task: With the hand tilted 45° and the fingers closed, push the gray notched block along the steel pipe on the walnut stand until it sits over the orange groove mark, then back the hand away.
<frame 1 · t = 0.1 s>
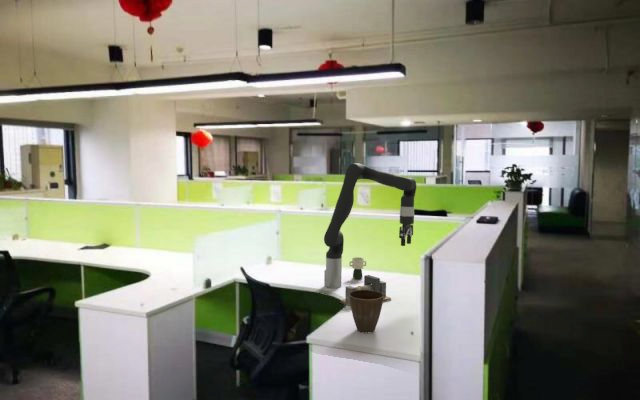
hand: (405, 244, 257), 29 cm above the table, tool pointing down, fingers open, 8 cm apart
trophy cup: (357, 278, 303), on the table
plant pot: (365, 330, 209), on the table
pipe stand: (365, 301, 253), on the table
gray notched block: (371, 285, 255), point 8 cm above the table, slide at -4.0 cm
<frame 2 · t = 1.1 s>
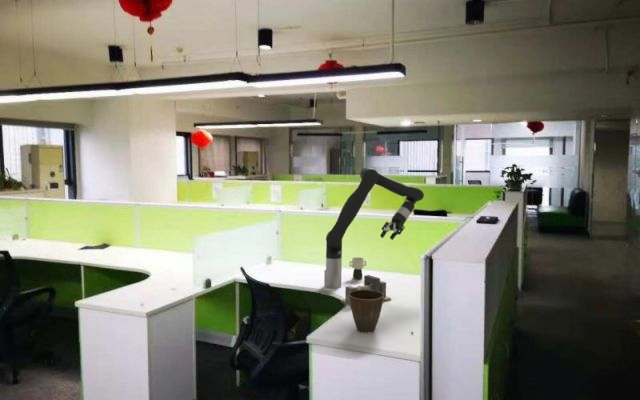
hand: (386, 237, 272), 31 cm above the table, tool tilted 45°, fingers open, 7 cm apart
nothing on the table moved.
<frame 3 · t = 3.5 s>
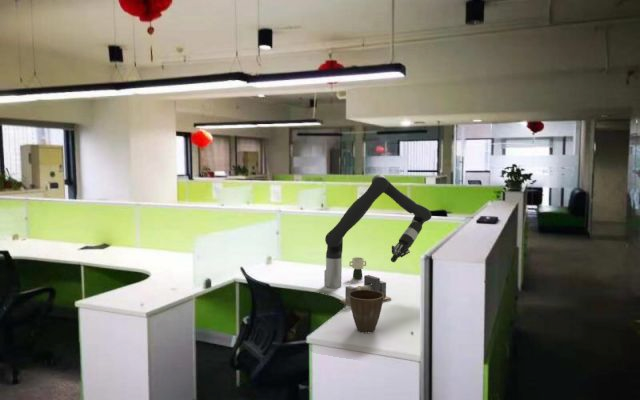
hand: (392, 261, 263), 19 cm above the table, tool tilted 45°, fingers closed
nothing on the table moved.
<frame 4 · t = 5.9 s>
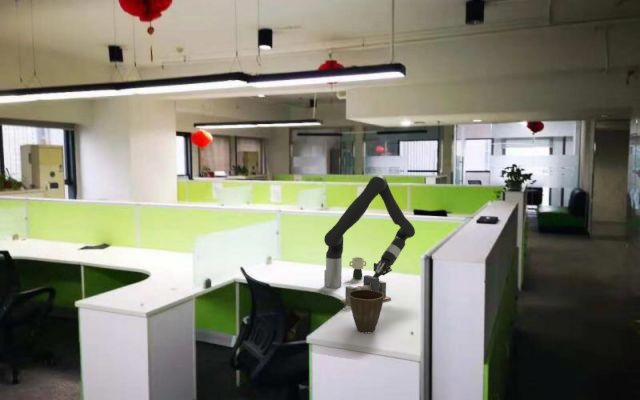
hand: (374, 279, 255), 11 cm above the table, tool tilted 45°, fingers closed
gray notched block: (371, 285, 254), point 8 cm above the table, slide at -3.5 cm, touching gripper
everything else where it was.
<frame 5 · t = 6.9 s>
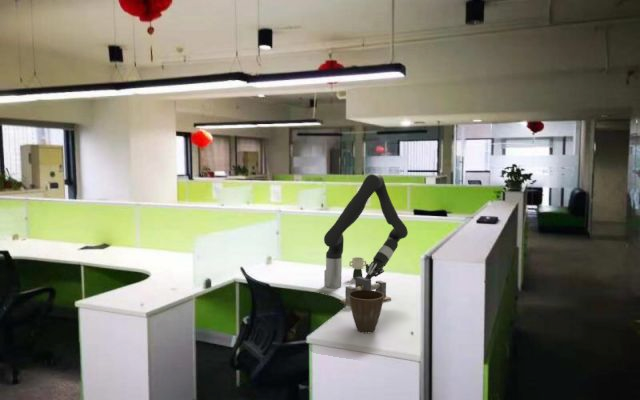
hand: (366, 281, 252), 11 cm above the table, tool tilted 45°, fingers closed
gray notched block: (363, 286, 251), point 8 cm above the table, slide at 2.2 cm, touching gripper
everything else where it was.
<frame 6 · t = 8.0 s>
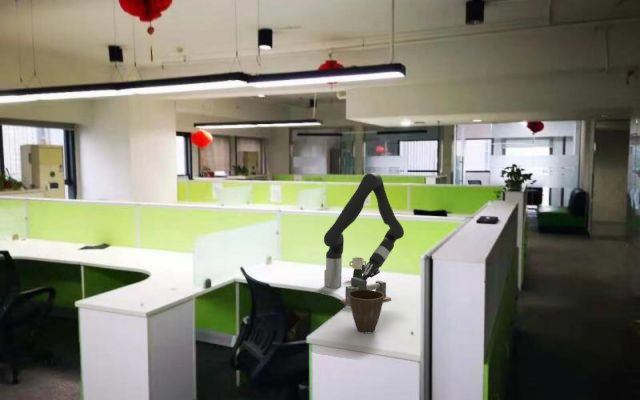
hand: (361, 281, 250), 11 cm above the table, tool tilted 45°, fingers closed
gray notched block: (358, 287, 249), point 8 cm above the table, slide at 5.1 cm, touching gripper
everything else where it was.
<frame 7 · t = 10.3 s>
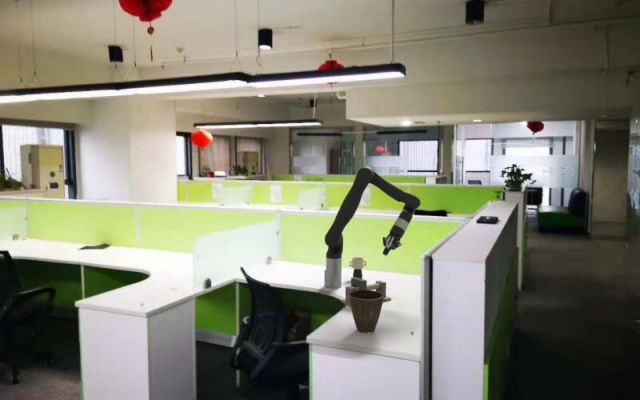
hand: (384, 254, 261), 23 cm above the table, tool tilted 35°, fingers closed
gray notched block: (358, 287, 249), point 8 cm above the table, slide at 5.1 cm
everything else where it was.
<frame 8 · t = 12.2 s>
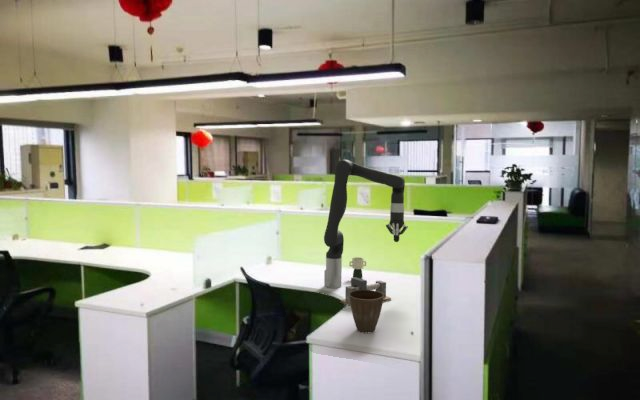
hand: (396, 241, 269), 29 cm above the table, tool pointing down, fingers closed
nothing on the table moved.
at the end: gray notched block slide at 5.1 cm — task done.
